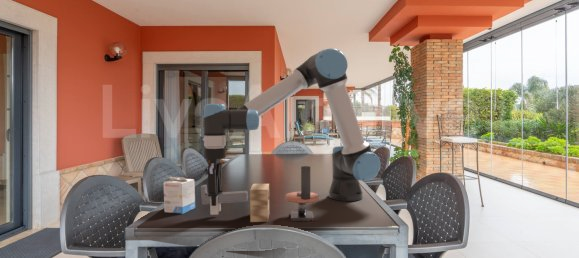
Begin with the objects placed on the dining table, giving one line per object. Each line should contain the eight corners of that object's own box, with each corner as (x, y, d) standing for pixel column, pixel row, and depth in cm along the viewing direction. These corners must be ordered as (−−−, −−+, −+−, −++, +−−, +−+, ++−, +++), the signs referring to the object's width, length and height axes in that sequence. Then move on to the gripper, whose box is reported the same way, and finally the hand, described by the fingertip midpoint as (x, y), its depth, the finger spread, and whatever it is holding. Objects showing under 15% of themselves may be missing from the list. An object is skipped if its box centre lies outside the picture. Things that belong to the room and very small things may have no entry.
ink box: (195, 208, 129) (195, 174, 128) (182, 214, 121) (181, 178, 120) (177, 206, 132) (177, 173, 131) (163, 212, 124) (162, 177, 123)
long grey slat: (248, 199, 118) (246, 181, 118) (247, 201, 115) (245, 183, 114) (204, 202, 118) (202, 184, 117) (201, 204, 115) (200, 186, 114)
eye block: (269, 213, 122) (269, 183, 121) (267, 221, 112) (267, 189, 111) (253, 213, 121) (253, 183, 121) (250, 222, 111) (250, 189, 111)
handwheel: (281, 195, 121) (281, 163, 120) (312, 193, 124) (312, 162, 123) (290, 204, 109) (290, 168, 109) (323, 201, 112) (323, 166, 112)
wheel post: (312, 213, 121) (312, 196, 120) (314, 220, 113) (314, 202, 112) (290, 213, 121) (290, 196, 120) (291, 220, 113) (290, 202, 112)
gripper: (209, 145, 124) (210, 206, 124) (198, 149, 107) (199, 219, 108) (229, 145, 124) (230, 206, 124) (220, 149, 107) (221, 219, 108)
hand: (215, 212), depth 116 cm, fingers closed on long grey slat, 3 cm apart
